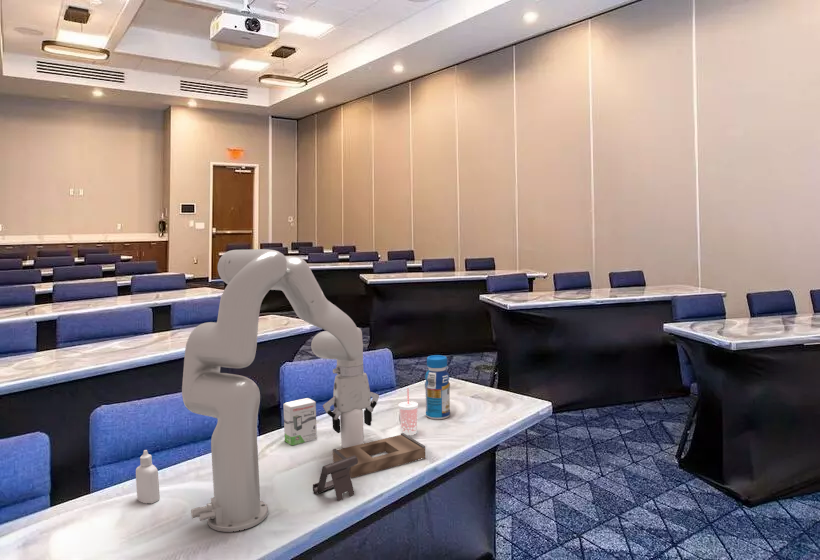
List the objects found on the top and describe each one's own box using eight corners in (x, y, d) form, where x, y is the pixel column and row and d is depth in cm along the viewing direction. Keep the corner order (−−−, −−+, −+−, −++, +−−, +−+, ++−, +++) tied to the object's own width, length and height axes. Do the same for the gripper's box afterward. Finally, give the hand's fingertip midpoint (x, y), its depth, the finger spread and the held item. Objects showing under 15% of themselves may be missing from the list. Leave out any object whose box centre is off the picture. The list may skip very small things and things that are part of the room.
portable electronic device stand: (343, 481, 136) (342, 448, 136) (362, 491, 131) (361, 458, 130) (312, 493, 131) (311, 459, 130) (331, 504, 125) (329, 469, 124)
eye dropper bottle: (156, 492, 132) (153, 444, 131) (160, 501, 128) (157, 452, 127) (136, 497, 130) (133, 448, 129) (140, 507, 125) (136, 456, 124)
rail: (351, 478, 138) (351, 465, 138) (333, 461, 148) (332, 449, 148) (425, 458, 149) (425, 446, 149) (403, 444, 159) (403, 432, 159)
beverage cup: (422, 434, 167) (421, 389, 166) (403, 437, 164) (402, 392, 163) (414, 428, 172) (413, 384, 171) (396, 431, 170) (395, 387, 169)
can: (343, 451, 155) (341, 410, 154) (339, 443, 161) (338, 403, 160) (365, 448, 157) (364, 407, 156) (361, 440, 163) (360, 401, 162)
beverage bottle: (421, 413, 186) (420, 355, 184) (445, 410, 189) (444, 353, 187) (430, 421, 178) (429, 361, 176) (454, 418, 181) (453, 358, 179)
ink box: (291, 446, 160) (289, 406, 159) (284, 441, 164) (282, 402, 163) (317, 439, 165) (316, 400, 164) (310, 434, 169) (308, 397, 168)
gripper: (327, 378, 149) (329, 438, 151) (383, 368, 158) (385, 425, 160) (317, 372, 156) (319, 430, 158) (371, 363, 165) (373, 418, 166)
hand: (352, 427), depth 159 cm, fingers open, 9 cm apart
